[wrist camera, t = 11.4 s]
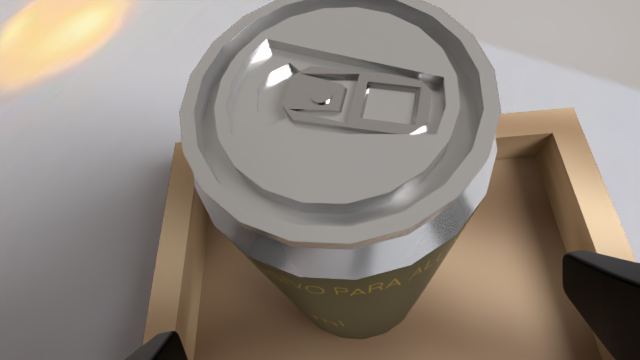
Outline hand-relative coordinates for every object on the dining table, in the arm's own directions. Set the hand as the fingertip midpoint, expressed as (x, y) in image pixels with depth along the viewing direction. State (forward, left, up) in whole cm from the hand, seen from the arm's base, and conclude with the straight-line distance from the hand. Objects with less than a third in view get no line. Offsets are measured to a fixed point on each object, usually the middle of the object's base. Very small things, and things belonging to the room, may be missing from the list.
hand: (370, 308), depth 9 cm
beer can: (+3, 0, -8) cm, 8 cm away
